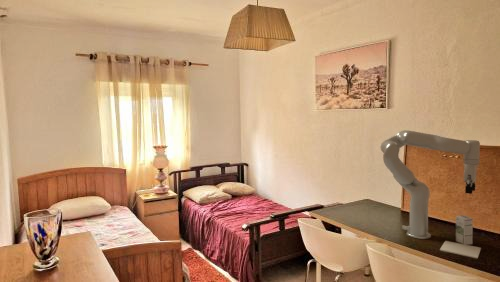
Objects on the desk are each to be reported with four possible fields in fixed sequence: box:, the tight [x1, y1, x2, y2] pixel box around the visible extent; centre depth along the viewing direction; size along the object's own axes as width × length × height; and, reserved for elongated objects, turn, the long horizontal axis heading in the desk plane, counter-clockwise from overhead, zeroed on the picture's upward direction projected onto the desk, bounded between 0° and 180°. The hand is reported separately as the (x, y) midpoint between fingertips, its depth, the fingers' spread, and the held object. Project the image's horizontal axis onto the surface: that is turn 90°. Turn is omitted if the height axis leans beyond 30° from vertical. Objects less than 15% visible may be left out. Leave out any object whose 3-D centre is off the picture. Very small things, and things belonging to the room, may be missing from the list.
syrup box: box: [455, 214, 474, 246], centre depth 174 cm, size 6×6×14 cm
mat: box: [439, 240, 482, 259], centre depth 165 cm, size 16×15×1 cm
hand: (470, 191), depth 180 cm, fingers open, 9 cm apart
